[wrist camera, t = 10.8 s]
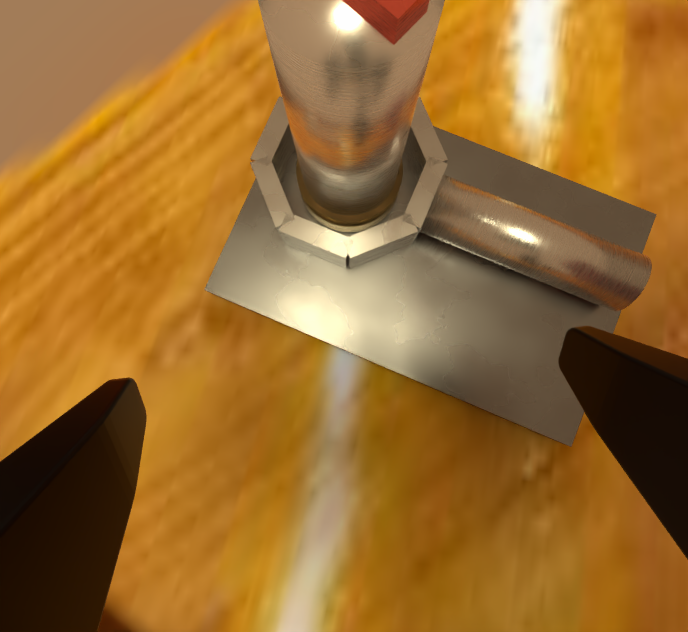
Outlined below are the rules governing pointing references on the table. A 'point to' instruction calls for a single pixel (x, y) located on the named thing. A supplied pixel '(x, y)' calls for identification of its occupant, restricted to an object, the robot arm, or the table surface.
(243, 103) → the table surface
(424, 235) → the metal plate with ring
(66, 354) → the table surface
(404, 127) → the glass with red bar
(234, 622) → the table surface
